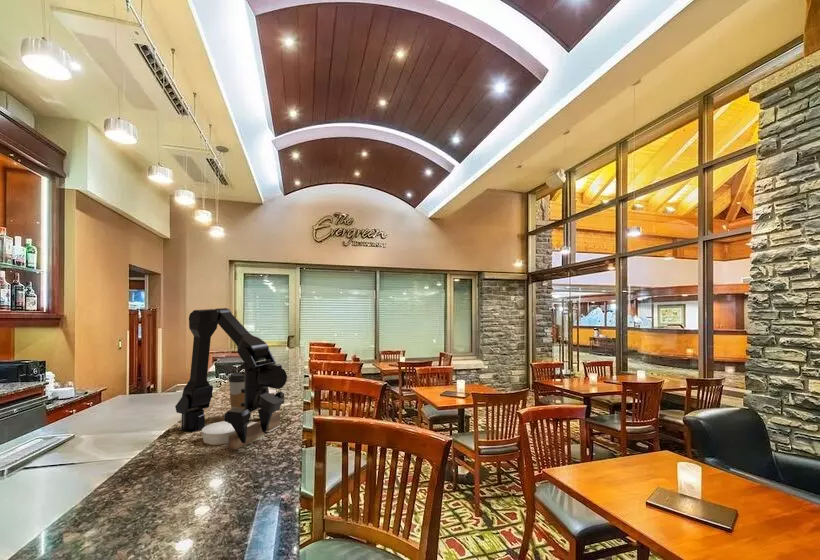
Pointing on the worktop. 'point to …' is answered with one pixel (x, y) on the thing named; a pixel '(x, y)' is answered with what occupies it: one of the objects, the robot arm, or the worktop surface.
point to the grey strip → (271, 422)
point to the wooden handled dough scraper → (252, 435)
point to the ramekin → (217, 433)
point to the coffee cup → (236, 389)
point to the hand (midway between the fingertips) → (254, 437)
